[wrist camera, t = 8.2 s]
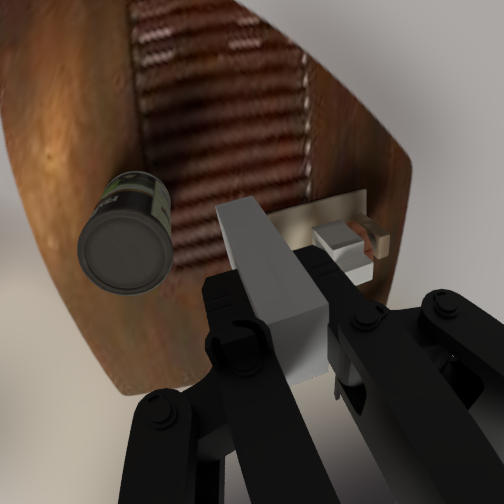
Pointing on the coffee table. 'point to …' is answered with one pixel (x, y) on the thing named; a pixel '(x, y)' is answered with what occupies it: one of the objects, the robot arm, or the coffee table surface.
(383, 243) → the linear slide rail
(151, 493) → the robot arm
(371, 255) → the o ring
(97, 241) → the coffee can
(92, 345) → the coffee table surface
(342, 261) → the sleeve
